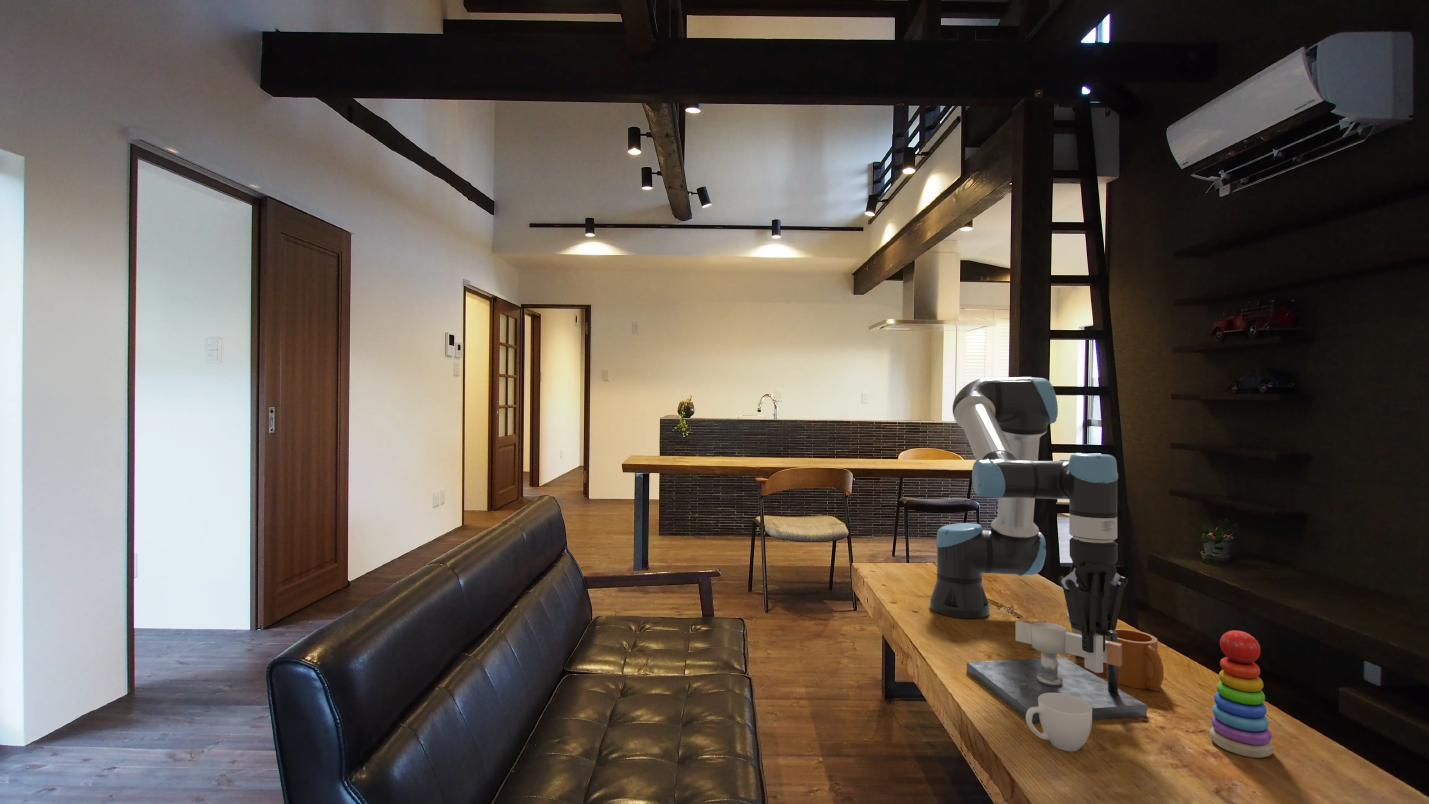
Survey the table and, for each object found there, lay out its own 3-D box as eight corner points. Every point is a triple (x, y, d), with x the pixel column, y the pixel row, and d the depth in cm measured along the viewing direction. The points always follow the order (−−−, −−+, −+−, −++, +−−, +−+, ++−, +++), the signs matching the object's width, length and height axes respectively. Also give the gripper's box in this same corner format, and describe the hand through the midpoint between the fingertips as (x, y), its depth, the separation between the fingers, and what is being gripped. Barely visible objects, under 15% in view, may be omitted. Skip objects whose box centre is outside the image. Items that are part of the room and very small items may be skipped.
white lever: (1011, 643, 124) (1011, 623, 124) (1022, 636, 128) (1022, 616, 128) (1116, 670, 111) (1116, 647, 111) (1125, 661, 115) (1125, 639, 115)
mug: (1128, 695, 120) (1127, 648, 121) (1098, 670, 132) (1096, 627, 132) (1179, 697, 119) (1177, 649, 119) (1144, 672, 131) (1142, 628, 131)
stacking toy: (1196, 735, 105) (1195, 623, 106) (1240, 733, 106) (1239, 621, 106) (1240, 761, 97) (1238, 640, 98) (1287, 759, 98) (1285, 638, 98)
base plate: (966, 671, 131) (966, 609, 131) (1064, 666, 134) (1063, 605, 134) (1031, 723, 109) (1030, 648, 110) (1146, 716, 112) (1145, 642, 112)
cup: (1102, 758, 98) (1102, 714, 98) (1037, 756, 99) (1037, 713, 99) (1076, 733, 106) (1076, 693, 106) (1016, 731, 106) (1016, 691, 107)
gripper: (1078, 544, 109) (1078, 680, 109) (1141, 541, 112) (1141, 675, 111) (1047, 535, 117) (1047, 664, 116) (1106, 534, 119) (1107, 659, 118)
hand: (1093, 669), depth 114 cm, fingers closed
